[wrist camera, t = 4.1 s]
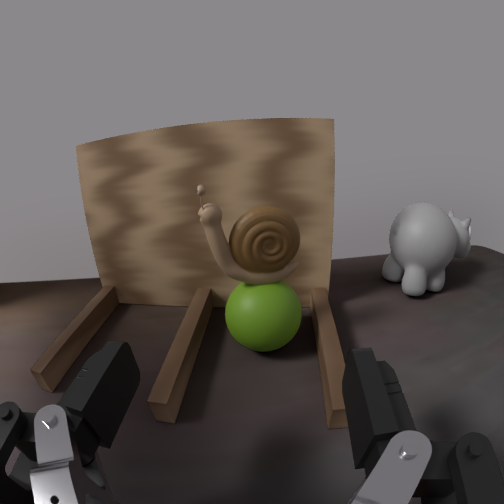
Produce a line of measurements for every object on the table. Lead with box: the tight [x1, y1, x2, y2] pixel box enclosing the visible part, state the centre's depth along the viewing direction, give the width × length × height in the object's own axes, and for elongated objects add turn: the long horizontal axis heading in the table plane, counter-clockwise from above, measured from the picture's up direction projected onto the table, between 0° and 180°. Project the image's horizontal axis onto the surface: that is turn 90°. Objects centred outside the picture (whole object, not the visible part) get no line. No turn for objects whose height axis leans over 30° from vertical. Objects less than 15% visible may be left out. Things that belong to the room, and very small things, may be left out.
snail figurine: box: [197, 185, 302, 352], centre depth 19 cm, size 5×6×12 cm
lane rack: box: [30, 118, 348, 429], centre depth 18 cm, size 22×14×16 cm, turn 86°
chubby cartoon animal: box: [382, 203, 471, 296], centre depth 26 cm, size 8×12×9 cm, turn 98°
